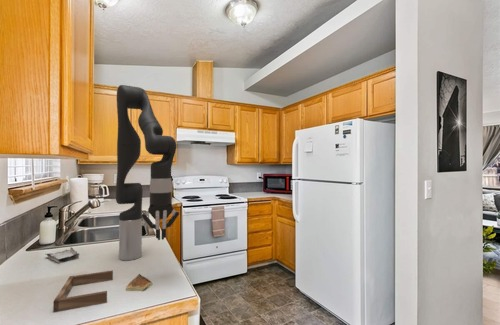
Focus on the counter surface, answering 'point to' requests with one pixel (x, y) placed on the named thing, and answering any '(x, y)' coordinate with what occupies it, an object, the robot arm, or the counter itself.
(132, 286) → the shard
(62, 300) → the wooden c-shaped bracket
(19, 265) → the counter surface
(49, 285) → the counter surface
